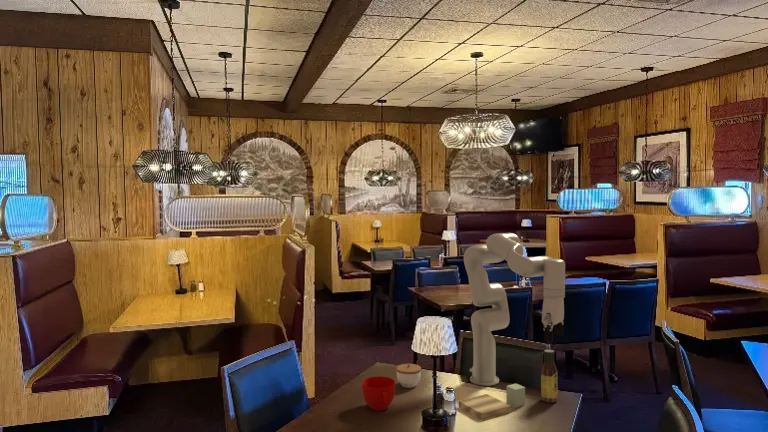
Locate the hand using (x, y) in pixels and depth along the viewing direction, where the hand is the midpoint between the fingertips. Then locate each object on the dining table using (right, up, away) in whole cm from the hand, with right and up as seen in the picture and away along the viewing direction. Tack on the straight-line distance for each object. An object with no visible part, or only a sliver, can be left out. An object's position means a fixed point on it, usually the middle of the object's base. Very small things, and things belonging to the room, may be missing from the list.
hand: (553, 338), depth 203 cm
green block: (-11, -29, +12) cm, 33 cm away
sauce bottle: (+3, -28, +16) cm, 32 cm away
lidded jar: (-52, -28, +34) cm, 68 cm away
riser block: (-24, -29, +7) cm, 39 cm away
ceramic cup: (-64, -30, +9) cm, 71 cm away
